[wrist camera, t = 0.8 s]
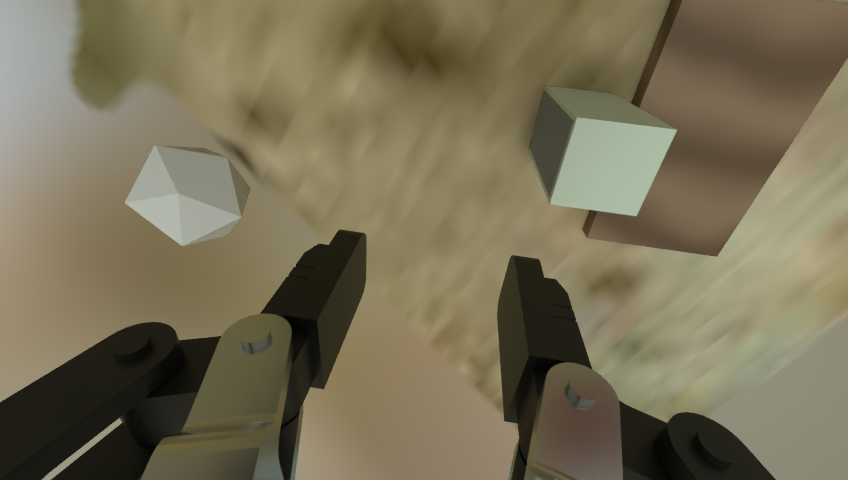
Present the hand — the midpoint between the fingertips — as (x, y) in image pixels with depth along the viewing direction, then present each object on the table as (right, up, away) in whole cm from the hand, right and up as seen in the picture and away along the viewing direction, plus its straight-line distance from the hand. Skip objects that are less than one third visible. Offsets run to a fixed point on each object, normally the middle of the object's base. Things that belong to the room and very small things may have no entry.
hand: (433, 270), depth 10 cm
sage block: (+11, +10, +17) cm, 23 cm away
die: (-20, +7, +24) cm, 32 cm away
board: (+20, +9, +17) cm, 28 cm away
